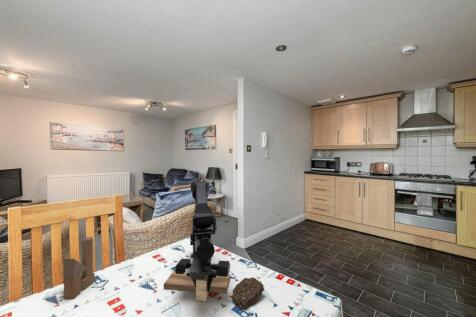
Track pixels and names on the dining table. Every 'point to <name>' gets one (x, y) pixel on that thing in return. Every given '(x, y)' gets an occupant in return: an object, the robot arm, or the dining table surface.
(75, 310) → the dining table surface
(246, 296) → the brown rock
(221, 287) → the board
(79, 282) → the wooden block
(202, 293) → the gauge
